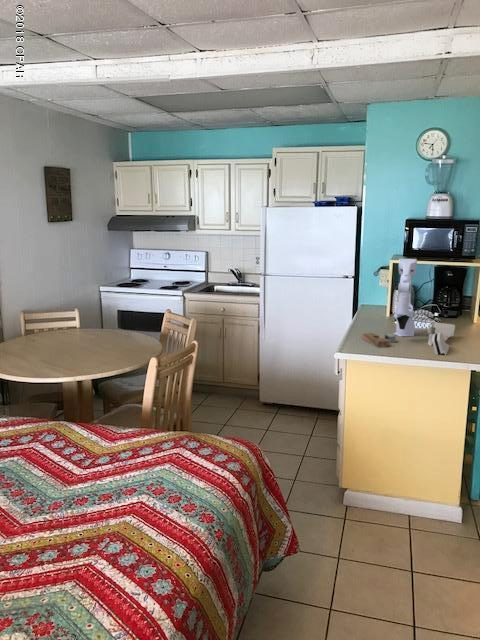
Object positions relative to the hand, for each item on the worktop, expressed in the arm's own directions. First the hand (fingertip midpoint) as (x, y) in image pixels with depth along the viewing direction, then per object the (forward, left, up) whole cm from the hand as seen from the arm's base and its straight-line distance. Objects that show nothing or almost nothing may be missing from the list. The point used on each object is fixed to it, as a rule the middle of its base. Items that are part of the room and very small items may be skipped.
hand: (402, 329), depth 288 cm
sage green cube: (+7, 0, -7) cm, 10 cm away
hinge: (-8, +23, -7) cm, 25 cm away
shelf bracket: (-21, +5, -7) cm, 23 cm away
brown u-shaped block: (+15, 0, -7) cm, 17 cm away
